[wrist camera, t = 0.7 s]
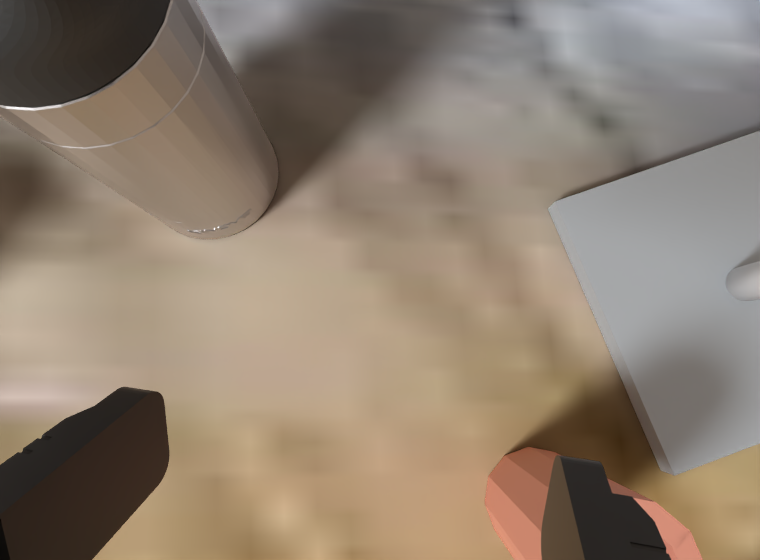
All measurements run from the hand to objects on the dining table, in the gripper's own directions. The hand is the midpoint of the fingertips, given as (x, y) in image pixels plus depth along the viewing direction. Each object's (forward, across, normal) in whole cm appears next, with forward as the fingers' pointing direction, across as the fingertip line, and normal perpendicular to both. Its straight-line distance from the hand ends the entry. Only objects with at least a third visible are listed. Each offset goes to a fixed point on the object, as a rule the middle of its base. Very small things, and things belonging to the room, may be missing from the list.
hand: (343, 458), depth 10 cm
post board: (+27, -19, +3) cm, 33 cm away
